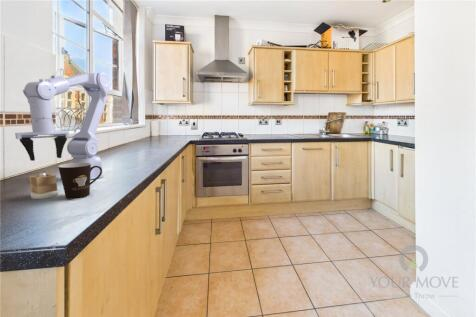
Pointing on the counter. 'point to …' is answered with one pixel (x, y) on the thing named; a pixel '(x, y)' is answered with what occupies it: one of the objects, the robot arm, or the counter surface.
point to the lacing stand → (44, 195)
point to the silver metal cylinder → (42, 174)
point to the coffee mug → (77, 179)
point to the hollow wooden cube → (43, 183)
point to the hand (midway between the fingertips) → (46, 159)
